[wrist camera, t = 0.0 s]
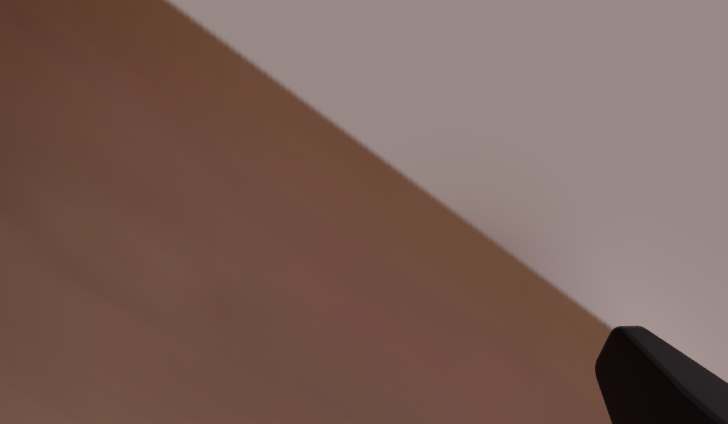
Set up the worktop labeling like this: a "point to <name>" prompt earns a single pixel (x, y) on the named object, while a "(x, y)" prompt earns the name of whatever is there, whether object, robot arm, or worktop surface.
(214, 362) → the worktop surface
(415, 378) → the worktop surface
